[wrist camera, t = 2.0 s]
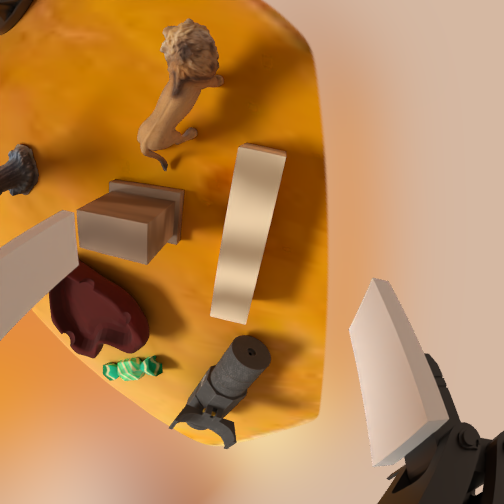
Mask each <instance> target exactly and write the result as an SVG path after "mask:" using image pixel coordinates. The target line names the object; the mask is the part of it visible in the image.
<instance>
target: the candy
mask: <svg viewBox="0 0 504 504" xmlns="http://www.w3.org/2000/svg"><path fill="white" fill-rule="evenodd" d="M155 359H156V356H155V355H154V356H151V357H148V358H146V359H145V360H144V361H143V362H142V361H141V360H140V359H139V358H138V357H136V358H129V359H123V360H121V361H120V362H118V365H116V364H114V363H107V364H105V365H103V375H104V376H105V377H107V378H108V379H109V380H110V381H111V380H115V379H117V378H118V377H119V376H120V377H121V378H122V379H123V380H124V381H130V380H139V379H140V378H141V377H143V376H144V374H145V373H146V374H148V375H152V376H158V375H159V374H161V373H163V370H162V363H158V362H157V361H156V360H155Z"/></svg>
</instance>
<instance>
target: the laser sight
mask: <svg viewBox="0 0 504 504" xmlns="http://www.w3.org/2000/svg"><path fill="white" fill-rule="evenodd" d="M270 362H271V356H270V352H269V350H268V349H267V347H266V346H265V345H264V344H263V343H262V342H261V341H259V340H258V339H256V338H254V337H251V336H246V335H243V336H238V337H236V338H235V339H234V340H233V342H232V343H231V345H230V346H229V348H228V349H227V351H226V352H225V353H224V355H223V356H222V358H221V359H220V361H219V362H218V363H217V365H215V366H211V367H210V368H209V370H208V371H207V373H206V374H205V376H204V377H203V378H202V380H201V381H200V383H199V384H198V386H197V387H196V389H195V390H194V391H193V393H192V394H191V396H190V397H189V399H188V401H187V404H186V406H185V407H184V409H183V410H182V411H181V412H180V414H179V415H178V416H177V417H176V419H175V420H174V421H173V423H172V424H171V425H170V427H169V429H173V427H174V426H175V425H176V424H177V423H179V422H186V423H187V424H188V425H189V426H191V427H192V428H194V429H197V430H206V429H207V428H208V429H210V430H212V431H214V432H215V433H217V434H218V435H219V436H221V438H222V440H223V442H224V445H225V447H224V449H228V448H229V447H230V446H232V445H234V444H235V443H236V435H235V427H234V422H232V421H229V420H226V419H223V418H224V417H225V416H226V415H227V414H228V413H229V412H230V411H231V410H232V409H233V408H234V407H235V406H236V405H237V404H238V403H239V402H240V401H241V400H242V399H243V398H244V397H245V396H246V394H247V388H248V387H249V386H250V385H251V384H252V383H253V382H254V381H255V380H256V379H257V378H258V377H259V375H260V374H261V373H262V372H263V371H264V370H265V369H266V368H267V367H268V366H269V364H270Z"/></svg>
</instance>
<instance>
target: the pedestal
mask: <svg viewBox="0 0 504 504" xmlns="http://www.w3.org/2000/svg"><path fill="white" fill-rule="evenodd" d="M183 200H184V190H180V189H174V188H168V187H162V186H155V185H149V184H142V183H135V182H128V181H121V180H113V181H110V182H109V193H107V194H105V195H103V196H102V197H100V198H98V199H96V200H94V201H92V202H90V203H88V204H86V205H85V206H83V207H81V208H79V209H77V222H78V234H79V244H80V247H81V248H84V249H88V250H92V251H96V252H99V253H103V254H107V255H111V256H114V257H118V258H122V259H126V260H130V261H134V262H138V263H142V264H146V265H147V264H148V263H149V262H150V261H151V260H152V259H153V258H154V256H155V255H156V254H157V253H158V252H159V251H160V250H161V248H162V247H163V246H164V245H165V244H166V243H171V244H176V245H177V244H178V242H179V241H180V235H181V222H182V211H183Z"/></svg>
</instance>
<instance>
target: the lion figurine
mask: <svg viewBox="0 0 504 504" xmlns="http://www.w3.org/2000/svg"><path fill="white" fill-rule="evenodd" d="M163 34H164V36H165V41H164V42H163V43H162V47H161V49H160V51H161V52H163V53H164V54H165V59H166V61H167V63H168V72H169V73H170V74H169V78H170V80H169V82H168V83H167V85H166V86H165V88H164V89H163V91H162V94H161V96H160V98H159V100H158V103H157V106H156V108H155V110H154V111H153V113H152V114H151V116H150V117H149V118H148V119H147V120H145V121H144V122H143V123H142V125H141V126H140V128H139V131H138V136H137V140H138V142H139V143H140V147H141V151H142V153H143V154H144V155H145V156H148V157H151V158H155V159H157V160H158V161H160V162H161V165H162V167H163V170H164V171H167V166H168V164H167V162H166V160H165V159H164V158H163V157H161V156H160V155H158V154H156V153H155V152H152V151H157V150H160V149H165V148H167V147H169V146H171V145H173V144H174V143H175V144H180V143H182V142H184V141H187V140H191V139H193V138H195V137H196V136H197V130H196V129H194V128H192V127H190V128H188V129H187V130H186V132H185V133H184V134H183V135H182V136H181V134H180V132H178V131H176V130H175V127H176V126H177V124H178V123H179V122H180V121H181V120H182V119H183V118H184V117H185V116H186V115H187V114H188V113H189V112H190V110H191V109H192V107H193V106H194V104H195V102H196V100H197V98H198V96H199V94H200V92H201V89H204V88H207V87H218V86H221V85H222V84H223V83H224V79H223V77H222V76H220V75H215V73H216V71H217V69H218V68H219V63H218V61H217V59H218V58H219V55H218V52H217V47H216V46H215V41H214V40H213V38H212V37H211V36H210V34H209V30H208V29H207V28H206V26H203V25H199V24H198V23H194V22H193V20H191V19H187V20H186V21H185V22H184V23H180V24H179V25H178V26H168V27H166V28H165V29H164V30H163ZM214 75H215V76H214ZM151 150H152V151H151Z"/></svg>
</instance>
